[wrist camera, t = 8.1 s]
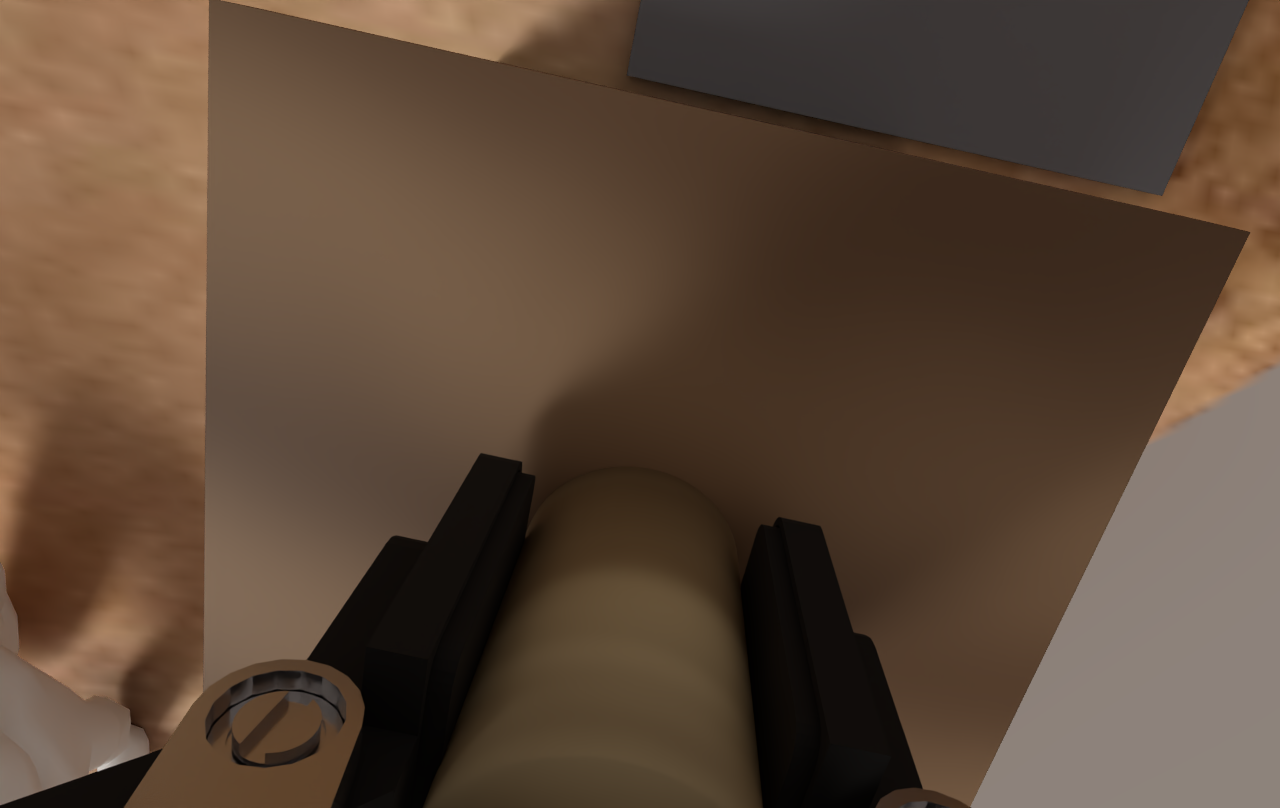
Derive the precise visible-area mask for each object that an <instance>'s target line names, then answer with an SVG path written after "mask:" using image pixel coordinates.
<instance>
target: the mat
mask: <svg viewBox="0 0 1280 808" xmlns="http://www.w3.org/2000/svg"><path fill="white" fill-rule="evenodd" d="M1248 1H1249V0H641V2H640V8H639V13H638V18H637V24H636V29H635V34H634V40H633V45H632V50H631V56H630V61H629V66H628V72H627V75H628V76H632V77H637V78H641V79H646V80H650V81H654V82H659V83H663V84H668V85H672V86H677V87H681V88H686V89H690V90H694V91H699V92H703V93H708V94H712V95H717V96H721V97H726V98H730V99H734V100H739V101H743V102H748V103H752V104H757V105H761V106H765V107H770V108H774V109H779V110H783V111H788V112H792V113H797V114H801V115H805V116H810V117H814V118H819V119H823V120H828V121H832V122H836V123H841V124H845V125H850V126H854V127H859V128H863V129H868V130H872V131H876V132H881V133H885V134H890V135H894V136H899V137H903V138H908V139H912V140H916V141H921V142H925V143H930V144H934V145H939V146H943V147H947V148H952V149H956V150H961V151H965V152H970V153H974V154H979V155H983V156H987V157H992V158H996V159H1001V160H1005V161H1010V162H1014V163H1019V164H1023V165H1027V166H1032V167H1036V168H1041V169H1045V170H1050V171H1054V172H1058V173H1063V174H1067V175H1072V176H1076V177H1081V178H1085V179H1090V180H1094V181H1098V182H1103V183H1107V184H1112V185H1116V186H1121V187H1125V188H1129V189H1134V190H1138V191H1143V192H1147V193H1152V194H1156V195H1161V196H1162V195H1163V193H1164V190H1165V188H1166V186H1167V184H1168V181H1169V179H1170V177H1171V175H1172V172H1173V170H1174V168H1175V166H1176V163H1177V161H1178V159H1179V157H1180V154H1181V152H1182V150H1183V148H1184V145H1185V143H1186V141H1187V138H1188V136H1189V134H1190V132H1191V129H1192V127H1193V125H1194V123H1195V120H1196V118H1197V116H1198V114H1199V111H1200V109H1201V107H1202V105H1203V102H1204V100H1205V98H1206V96H1207V93H1208V91H1209V89H1210V87H1211V84H1212V82H1213V80H1214V78H1215V75H1216V73H1217V71H1218V69H1219V66H1220V64H1221V62H1222V60H1223V57H1224V55H1225V53H1226V51H1227V48H1228V46H1229V44H1230V42H1231V39H1232V37H1233V35H1234V33H1235V30H1236V28H1237V26H1238V24H1239V21H1240V19H1241V17H1242V15H1243V12H1244V10H1245V8H1246V6H1247V3H1248Z"/></svg>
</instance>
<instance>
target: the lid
mask: <svg viewBox="0 0 1280 808" xmlns="http://www.w3.org/2000/svg"><path fill="white" fill-rule="evenodd" d="M1249 234H1250V232H1247V231H1243V230H1239V229H1235V228H1231V227H1227V226H1222V225H1218V224H1214V223H1210V222H1206V221H1202V220H1197V219H1193V218H1188V217H1184V216H1180V215H1175V214H1171V213H1166V212H1162V211H1157V210H1153V209H1148V208H1144V207H1139V206H1135V205H1131V204H1126V203H1122V202H1117V201H1113V200H1108V199H1104V198H1099V197H1095V196H1091V195H1086V194H1082V193H1077V192H1073V191H1068V190H1064V189H1059V188H1055V187H1051V186H1046V185H1042V184H1037V183H1033V182H1028V181H1024V180H1019V179H1015V178H1010V177H1006V176H1002V175H997V174H993V173H988V172H984V171H979V170H975V169H970V168H966V167H962V166H957V165H953V164H948V163H944V162H939V161H935V160H930V159H926V158H922V157H917V156H913V155H908V154H904V153H899V152H895V151H890V150H886V149H882V148H877V147H873V146H868V145H864V144H859V143H855V142H850V141H846V140H841V139H837V138H833V137H828V136H824V135H819V134H815V133H810V132H806V131H801V130H797V129H793V128H788V127H784V126H779V125H775V124H770V123H766V122H761V121H757V120H753V119H748V118H744V117H739V116H735V115H730V114H726V113H721V112H717V111H712V110H708V109H704V108H699V107H695V106H690V105H686V104H681V103H677V102H672V101H668V100H664V99H659V98H655V97H650V96H646V95H641V94H637V93H632V92H628V91H624V90H619V89H615V88H610V87H606V86H601V85H597V84H592V83H588V82H584V81H579V80H575V79H570V78H566V77H561V76H557V75H552V74H548V73H543V72H539V71H535V70H530V69H526V68H521V67H517V66H512V65H508V64H503V63H499V62H495V61H490V60H486V59H481V58H477V57H472V56H468V55H463V54H459V53H455V52H450V51H446V50H441V49H437V48H432V47H428V46H423V45H419V44H414V43H410V42H406V41H401V40H397V39H392V38H388V37H383V36H379V35H374V34H370V33H366V32H361V31H357V30H352V29H348V28H343V27H339V26H334V25H330V24H326V23H321V22H317V21H312V20H308V19H303V18H299V17H294V16H290V15H286V14H281V13H277V12H272V11H268V10H263V9H259V8H254V7H250V6H245V5H240V4H235V3H230V2H225V1H221V0H209V68H208V188H207V309H206V429H205V549H204V669H203V692H204V691H205V690H206V689H207V688H208V687H209V686H211V685H212V684H214V683H215V682H217V681H218V680H220V679H222V678H223V677H225V676H226V675H228V674H229V673H231V672H234V671H237V670H239V669H242V668H245V667H247V666H250V665H253V664H255V663H261V662H267V661H273V660H280V659H293V660H307V658H308V657H309V656H310V654H311V653H312V651H313V650H314V648H315V647H316V645H317V644H318V642H319V641H320V639H321V638H322V637H323V635H324V634H325V632H326V631H327V629H328V628H329V626H330V625H331V623H332V622H333V620H334V619H335V617H336V616H337V615H338V613H339V612H340V610H341V609H342V607H343V606H344V604H345V603H346V601H347V600H348V598H349V597H350V595H351V594H352V593H353V591H354V590H355V588H356V587H357V585H358V584H359V582H360V581H361V579H362V578H363V576H364V575H365V574H366V572H367V571H368V569H369V568H370V566H371V565H372V563H373V562H374V560H375V559H376V557H377V556H378V554H379V553H380V552H381V550H382V549H383V547H384V546H385V544H386V543H387V542H388V540H389V539H390V538H391V537H392V536H395V535H398V536H402V537H407V538H412V539H416V540H421V541H426V542H428V541H429V539H430V537H431V536H432V534H433V532H434V531H435V529H436V527H437V526H438V524H439V522H440V520H441V519H442V517H443V515H444V514H445V512H446V510H447V509H448V507H449V505H450V504H451V502H452V500H453V498H454V497H455V495H456V493H457V492H458V490H459V488H460V487H461V485H462V483H463V482H464V480H465V478H466V476H467V475H468V473H469V471H470V470H471V468H472V466H473V465H474V463H475V461H476V460H477V458H478V456H479V455H480V454H481V453H484V454H488V455H493V456H498V457H502V458H507V459H512V460H516V461H521V462H522V473H526V474H530V475H535V485H534V491H533V497H532V502H531V508H530V514H529V519H528V525H527V530H526V536H525V541H524V543H523V546H522V549H521V551H520V554H519V557H518V559H517V562H516V565H515V567H514V570H513V573H512V575H511V578H510V581H509V583H508V586H507V589H506V591H505V594H504V597H503V599H502V602H501V605H500V607H499V610H498V613H497V615H496V618H495V621H494V623H493V626H492V629H491V631H490V634H489V637H488V640H487V642H486V645H485V648H484V650H483V653H482V656H481V658H480V661H479V664H478V666H477V669H476V672H475V674H474V677H473V680H472V682H471V685H470V688H469V690H468V693H467V696H466V698H465V701H464V704H463V706H462V709H461V712H460V714H459V717H458V720H457V722H456V725H455V728H454V730H453V733H452V736H451V738H450V741H449V744H448V746H447V749H446V752H445V754H444V757H443V760H442V762H441V765H440V767H439V768H438V770H437V773H436V775H435V777H434V779H433V782H432V784H431V787H430V789H429V792H428V795H427V797H426V800H425V803H424V805H423V808H763V800H762V790H761V780H760V770H759V761H758V751H757V741H756V732H755V722H754V712H753V702H752V693H751V683H750V673H749V664H748V654H747V644H746V635H745V625H744V615H743V605H742V596H741V582H742V579H743V576H744V573H745V569H746V566H747V563H748V559H749V556H750V553H751V549H752V546H753V543H754V539H755V536H756V533H757V530H758V528H759V526H760V525H761V524H763V525H768V526H773V524H774V522H775V521H776V519H777V518H778V517H782V518H786V519H791V520H796V521H800V522H805V523H810V524H814V525H819V526H821V528H822V530H823V534H824V537H825V540H826V544H827V547H828V550H829V553H830V557H831V560H832V563H833V567H834V570H835V573H836V576H837V580H838V583H839V586H840V590H841V593H842V596H843V599H844V603H845V606H846V609H847V613H848V616H849V619H850V622H851V626H852V629H853V632H854V633H859V634H864V635H867V636H868V637H870V638H871V639H872V641H873V643H874V645H875V647H876V650H877V653H878V656H879V659H880V662H881V665H882V668H883V671H884V674H885V677H886V680H887V683H888V686H889V689H890V692H891V695H892V698H893V701H894V704H895V707H896V710H897V713H898V716H899V719H900V722H901V725H902V728H903V731H904V733H905V736H906V739H907V742H908V745H909V748H910V751H911V754H912V757H913V760H914V763H915V766H916V769H917V772H918V775H919V778H920V781H921V784H922V787H923V789H925V790H931V791H937V792H939V793H942V794H944V795H947V796H949V797H952V798H954V799H957V800H959V801H961V802H963V803H964V804H966V805H967V806H969V807H970V806H971V804H972V802H973V800H974V798H975V796H976V794H977V791H978V789H979V787H980V785H981V783H982V781H983V779H984V777H985V775H986V773H987V771H988V769H989V767H990V764H991V763H992V761H993V759H994V757H995V755H996V752H997V750H998V748H999V746H1000V744H1001V742H1002V740H1003V738H1004V736H1005V734H1006V732H1007V730H1008V728H1009V726H1010V724H1011V722H1012V720H1013V718H1014V716H1015V714H1016V712H1017V709H1018V707H1019V705H1020V703H1021V701H1022V699H1023V697H1024V695H1025V693H1026V691H1027V689H1028V687H1029V685H1030V683H1031V681H1032V678H1033V677H1034V675H1035V673H1036V671H1037V668H1038V666H1039V664H1040V662H1041V660H1042V658H1043V656H1044V654H1045V652H1046V650H1047V648H1048V646H1049V644H1050V641H1051V640H1052V637H1053V635H1054V634H1055V632H1056V630H1057V627H1058V625H1059V623H1060V621H1061V619H1062V617H1063V615H1064V613H1065V611H1066V609H1067V607H1068V605H1069V603H1070V601H1071V598H1072V597H1073V595H1074V593H1075V591H1076V588H1077V586H1078V584H1079V582H1080V580H1081V578H1082V576H1083V574H1084V572H1085V570H1086V568H1087V566H1088V564H1089V562H1090V560H1091V558H1092V556H1093V554H1094V552H1095V550H1096V547H1097V545H1098V543H1099V541H1100V539H1101V537H1102V535H1103V533H1104V531H1105V529H1106V527H1107V525H1108V523H1109V521H1110V519H1111V517H1112V515H1113V513H1114V511H1115V508H1116V506H1117V504H1118V502H1119V500H1120V498H1121V496H1122V494H1123V492H1124V490H1125V488H1126V486H1127V484H1128V482H1129V480H1130V477H1131V476H1132V474H1133V472H1134V469H1135V468H1136V465H1137V463H1138V461H1139V459H1140V457H1141V455H1142V453H1143V451H1144V449H1145V447H1146V445H1147V443H1148V441H1149V439H1150V437H1151V435H1152V433H1153V431H1154V429H1155V427H1156V424H1157V422H1158V420H1159V418H1160V416H1161V414H1162V412H1163V410H1164V408H1165V406H1166V404H1167V402H1168V400H1169V398H1170V396H1171V394H1172V392H1173V390H1174V388H1175V386H1176V383H1177V381H1178V379H1179V377H1180V375H1181V373H1182V371H1183V369H1184V367H1185V365H1186V363H1187V361H1188V359H1189V357H1190V355H1191V353H1192V351H1193V349H1194V347H1195V345H1196V342H1197V340H1198V338H1199V336H1200V334H1201V332H1202V330H1203V328H1204V326H1205V324H1206V322H1207V320H1208V318H1209V316H1210V314H1211V312H1212V310H1213V308H1214V306H1215V304H1216V301H1217V299H1218V297H1219V295H1220V293H1221V291H1222V289H1223V287H1224V285H1225V283H1226V281H1227V279H1228V277H1229V275H1230V273H1231V271H1232V269H1233V267H1234V265H1235V263H1236V260H1237V258H1238V256H1239V254H1240V252H1241V250H1242V248H1243V246H1244V244H1245V242H1246V240H1247V238H1248V236H1249Z"/></svg>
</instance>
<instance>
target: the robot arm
mask: <svg viewBox="0 0 1280 808" xmlns="http://www.w3.org/2000/svg"><path fill="white" fill-rule="evenodd" d="M534 485H535V475H530V474H526V473H522V462H521V461H516V460H512V459H507V458H502V457H498V456H493V455H488V454H484V453H481V454H480V455H479V456H478V458H477V460H476V461H475V463H474V465H473V466H472V468H471V470H470V471H469V473H468V475H467V476H466V478H465V480H464V482H463V483H462V485H461V487H460V488H459V490H458V492H457V493H456V495H455V497H454V498H453V500H452V502H451V504H450V505H449V507H448V509H447V510H446V512H445V514H444V515H443V517H442V519H441V520H440V522H439V524H438V526H437V527H436V529H435V531H434V532H433V534H432V536H431V537H430V539H429V541H428V542H426V541H421V540H416V539H412V538H407V537H402V536H398V535H395V536H392V537H391V538H390V539H389V540H388V542H387V543H386V544H385V546H384V547H383V549H382V550H381V552H380V553H379V554H378V556H377V557H376V559H375V560H374V562H373V563H372V565H371V566H370V568H369V569H368V571H367V572H366V574H365V575H364V576H363V578H362V579H361V581H360V582H359V584H358V585H357V587H356V588H355V590H354V591H353V593H352V594H351V595H350V597H349V598H348V600H347V601H346V603H345V604H344V606H343V607H342V609H341V610H340V612H339V613H338V615H337V616H336V617H335V619H334V620H333V622H332V623H331V625H330V626H329V628H328V629H327V631H326V632H325V634H324V635H323V637H322V638H321V639H320V641H319V642H318V644H317V645H316V647H315V648H314V650H313V651H312V653H311V654H310V656H309V657H308V658H307V660H293V659H280V660H273V661H267V662H261V663H255V664H253V665H250V666H247V667H245V668H242V669H239V670H237V671H234V672H231V673H229V674H228V675H226V676H225V677H223V678H222V679H220V680H218V681H217V682H215V683H214V684H212V685H211V686H209V687H208V688H207V689H206V690H205V691H204V692H203V694H202V695H201V696H200V697H199V698H198V699H197V700H196V701H195V702H194V703H193V704H192V706H191V707H190V709H189V710H188V712H187V713H186V715H185V716H184V718H183V719H182V721H181V722H180V724H179V725H178V727H177V728H176V730H175V731H174V733H173V734H172V736H171V737H170V739H169V740H168V742H167V743H166V745H165V746H164V748H163V749H161V750H158V751H155V752H152V753H149V754H146V755H144V756H141V757H138V758H135V759H132V760H129V761H126V762H123V763H121V764H118V765H115V766H112V767H109V768H106V769H103V770H100V771H98V772H95V773H92V774H89V775H86V776H83V777H80V778H77V779H74V780H72V781H69V782H66V783H63V784H60V785H57V786H54V787H51V788H49V789H46V790H43V791H40V792H37V793H34V794H31V795H28V796H26V797H23V798H20V799H17V800H14V801H11V802H8V803H5V804H2V805H0V808H423V805H424V803H425V800H426V797H427V795H428V792H429V789H430V787H431V784H432V782H433V779H434V777H435V775H436V773H437V770H438V768H439V767H440V765H441V762H442V760H443V757H444V754H445V752H446V749H447V746H448V744H449V741H450V738H451V736H452V733H453V730H454V728H455V725H456V722H457V720H458V717H459V714H460V712H461V709H462V706H463V704H464V701H465V698H466V696H467V693H468V690H469V688H470V685H471V682H472V680H473V677H474V674H475V672H476V669H477V666H478V664H479V661H480V658H481V656H482V653H483V650H484V648H485V645H486V642H487V640H488V637H489V634H490V631H491V629H492V626H493V623H494V621H495V618H496V615H497V613H498V610H499V607H500V605H501V602H502V599H503V597H504V594H505V591H506V589H507V586H508V583H509V581H510V578H511V575H512V573H513V570H514V567H515V565H516V562H517V559H518V557H519V554H520V551H521V549H522V546H523V543H524V541H525V536H526V530H527V525H528V519H529V514H530V508H531V502H532V497H533V491H534ZM741 596H742V605H743V615H744V625H745V635H746V644H747V654H748V664H749V673H750V683H751V693H752V702H753V712H754V722H755V732H756V741H757V751H758V761H759V770H760V780H761V790H762V800H763V808H971V807H969V806H967V805H966V804H964V803H963V802H961V801H959V800H957V799H954V798H952V797H949V796H947V795H944V794H942V793H939V792H937V791H931V790H925V789H923V787H922V784H921V781H920V778H919V775H918V772H917V769H916V766H915V763H914V760H913V757H912V754H911V751H910V748H909V745H908V742H907V739H906V736H905V733H904V731H903V728H902V725H901V722H900V719H899V716H898V713H897V710H896V707H895V704H894V701H893V698H892V695H891V692H890V689H889V686H888V683H887V680H886V677H885V674H884V671H883V668H882V665H881V662H880V659H879V656H878V653H877V650H876V647H875V645H874V643H873V641H872V639H871V638H870V637H868V636H867V635H864V634H859V633H854V632H853V629H852V626H851V622H850V619H849V616H848V613H847V609H846V606H845V603H844V599H843V596H842V593H841V590H840V586H839V583H838V580H837V576H836V573H835V570H834V567H833V563H832V560H831V557H830V553H829V550H828V547H827V544H826V540H825V537H824V534H823V530H822V528H821V526H819V525H814V524H810V523H805V522H800V521H796V520H791V519H786V518H782V517H778V518H777V519H776V521H775V522H774V524H773V526H768V525H763V524H761V525H760V526H759V528H758V530H757V533H756V536H755V539H754V543H753V546H752V549H751V553H750V556H749V559H748V563H747V566H746V569H745V573H744V576H743V579H742V582H741Z"/></svg>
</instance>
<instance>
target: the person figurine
mask: <svg viewBox="0 0 1280 808" xmlns="http://www.w3.org/2000/svg"><path fill="white" fill-rule="evenodd" d="M18 651H19V634H18V616H17V613H16V611H15V609H14V607H13V605H12V603H11V600H10V598H9V596H8V594H7V592H6V577H5V570H4V568H3V566H2V564H1V563H0V805H2V804H5V803H8V802H11V801H14V800H17V799H20V798H23V797H26V796H28V795H31V794H34V793H37V792H40V791H43V790H46V789H49V788H51V787H54V786H57V785H60V784H63V783H66V782H69V781H72V780H74V779H77V778H80V777H83V776H86V775H89V771H91V770H93V769H96V768H97V771H100V770H103V769H106V768H109V767H112V766H115V765H118V764H121V763H123V762H126V761H129V760H132V759H135V758H138V757H141V756H144V755H146V754H149V753H150V750H149V739H148V737H147V735H146V733H145V731H144V729H143V728H140V727H137V726H134V725H131V718H130V709H128V708H126V707H124V706H122V705H120V704H119V703H117V702H115V701H113V700H111V699H109V698H107V697H104V696H95V695H94V696H92V697H90V698H88V699H86V700H84V699H83V698H81V697H80V696H79V695H78V694H76V693H75V692H74V691H72V690H71V689H70V688H69V687H67V686H66V685H64V684H62V683H61V682H59V681H58V680H56V679H54V678H53V677H51V676H49V675H48V674H46V673H45V672H43V671H41V670H40V669H38V668H36V667H35V666H33V665H31V664H30V663H28V662H27V661H25V660H24V659H22V658H21V657H19V656H18Z"/></svg>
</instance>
